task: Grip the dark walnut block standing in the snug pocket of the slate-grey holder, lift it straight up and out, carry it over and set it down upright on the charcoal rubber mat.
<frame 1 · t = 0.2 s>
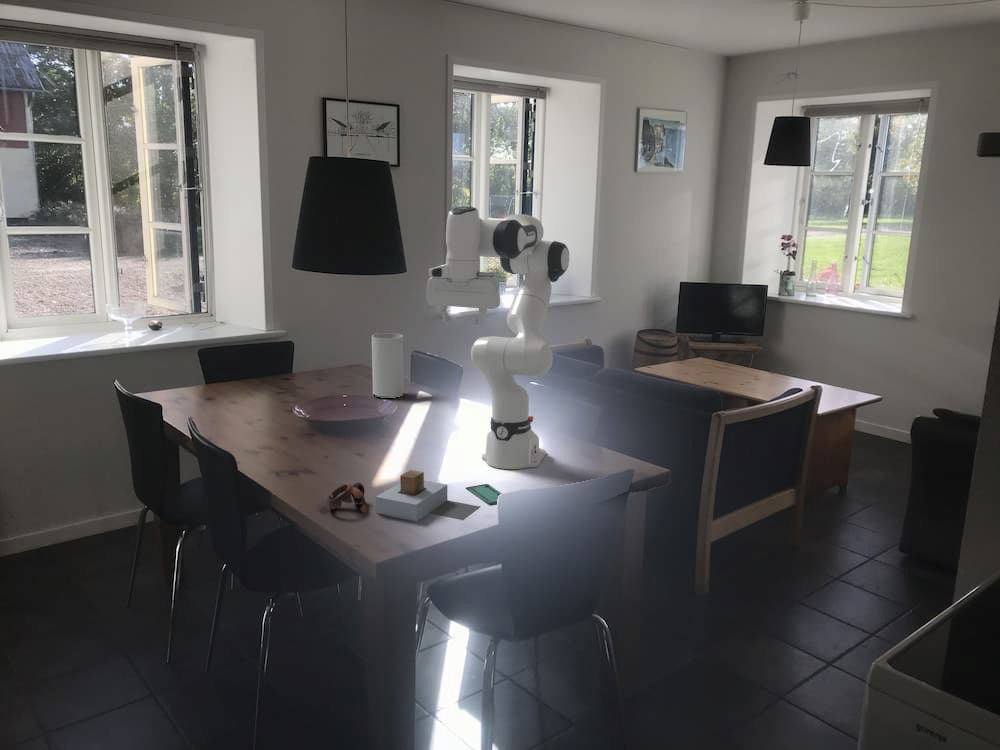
hand: (462, 324, 209), 47 cm above the table, tool pointing down, fingers open, 8 cm apart
walnut block: (412, 506, 208), point 1 cm above the table, touching pocket holder
smartphone: (489, 498, 218), on the table
cylinder vase: (388, 396, 328), on the table
rubber mat: (455, 512, 207), on the table
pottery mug: (350, 511, 207), on the table
pocket holder: (412, 508, 209), on the table
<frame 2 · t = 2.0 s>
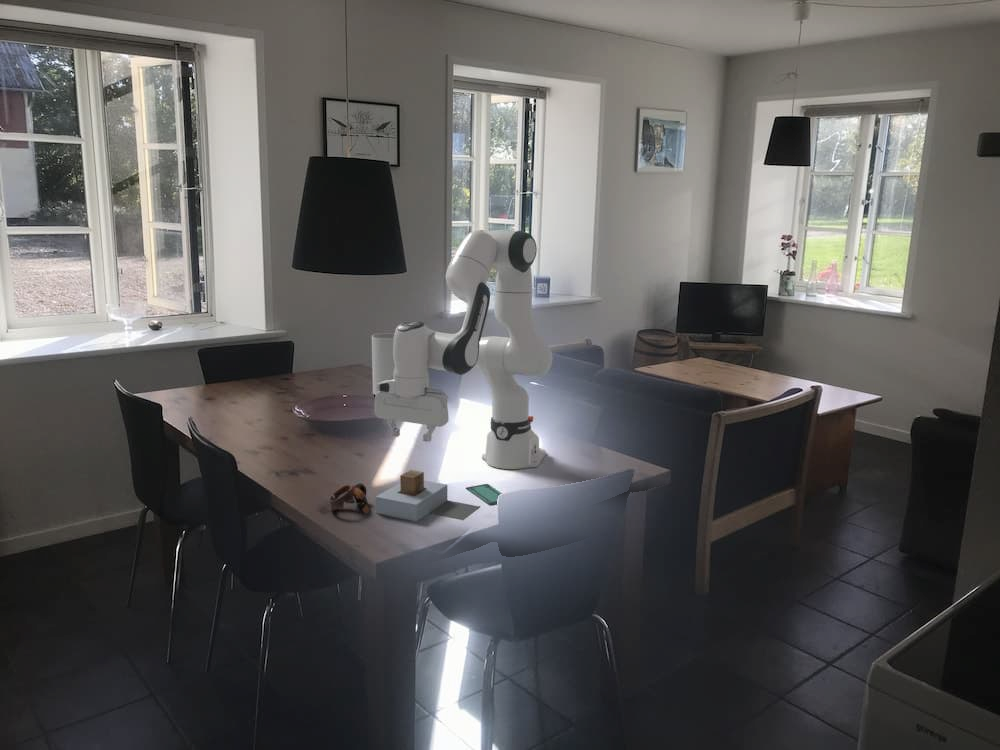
hand: (411, 438, 204), 19 cm above the table, tool pointing down, fingers open, 8 cm apart
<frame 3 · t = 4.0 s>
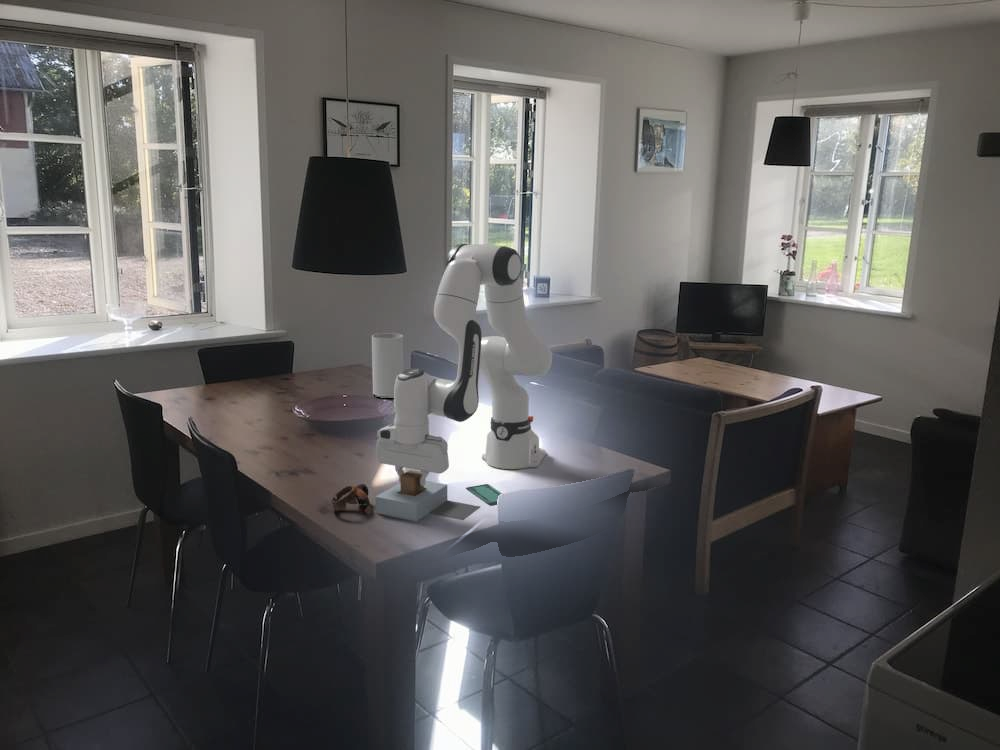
hand: (412, 483, 207), 7 cm above the table, tool pointing down, fingers closed on walnut block, 4 cm apart
walnut block: (412, 506, 208), point 1 cm above the table, touching gripper, pocket holder
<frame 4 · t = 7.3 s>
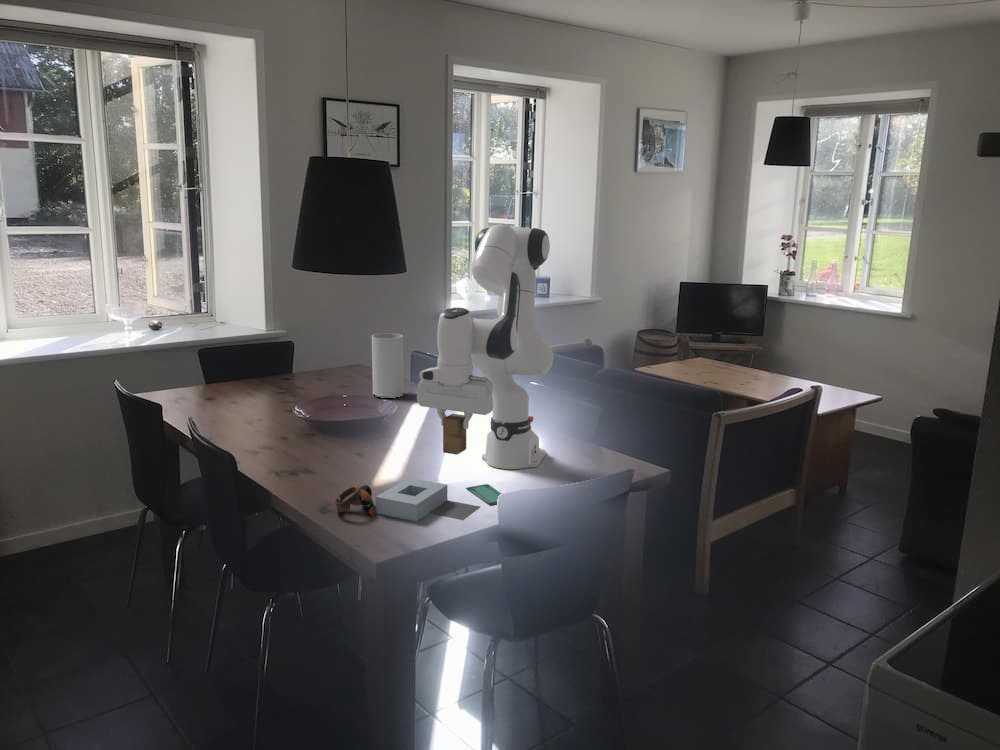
hand: (454, 427, 202), 23 cm above the table, tool pointing down, fingers closed on walnut block, 4 cm apart
walnut block: (454, 450, 203), point 17 cm above the table, touching gripper
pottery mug: (358, 513, 206), on the table
everything else where it was.
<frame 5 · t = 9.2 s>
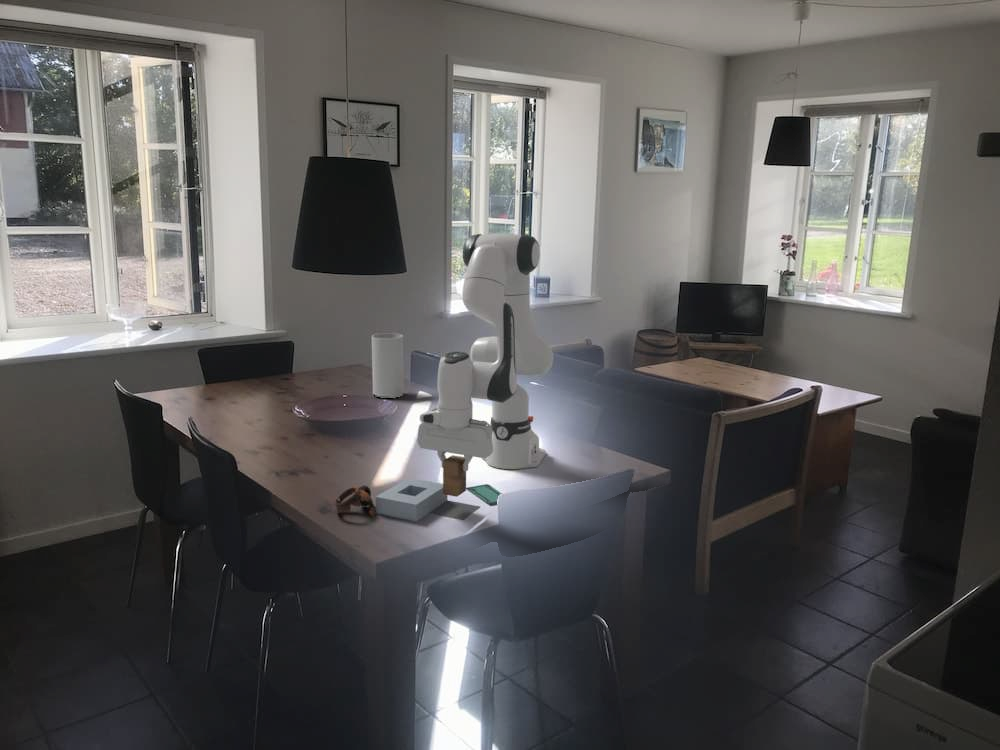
hand: (454, 469, 204), 12 cm above the table, tool pointing down, fingers closed on walnut block, 4 cm apart
walnut block: (454, 492, 205), point 5 cm above the table, touching gripper
when the fingers open (8 cm above the table, at t = 10.7 s): walnut block drops 1 cm, resting on rubber mat.
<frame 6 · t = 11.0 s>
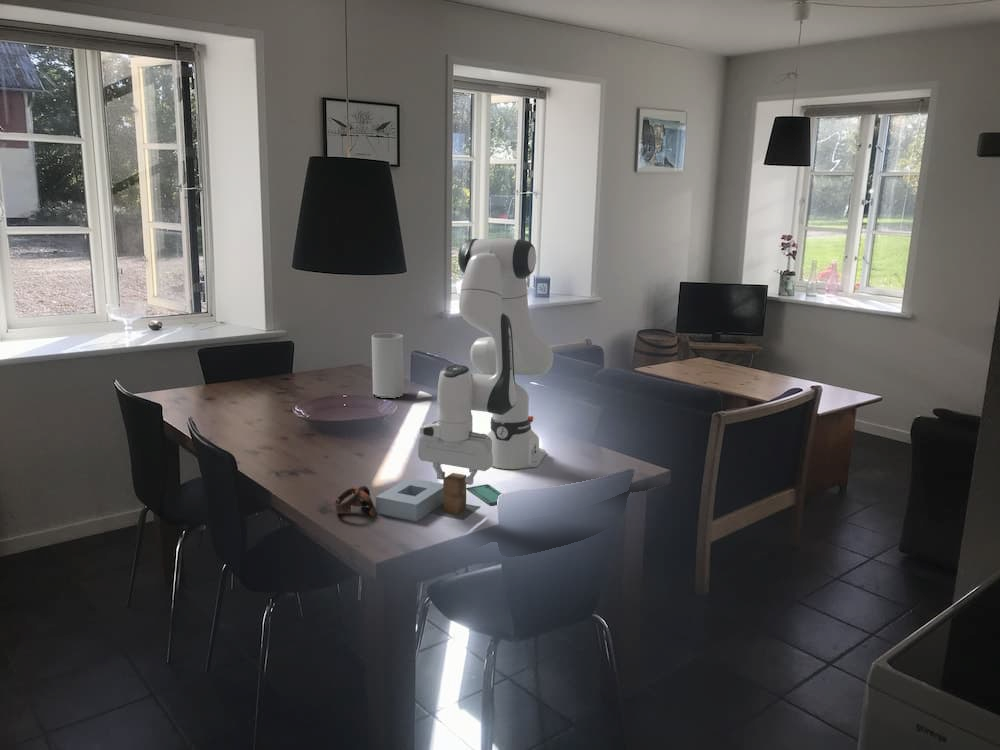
hand: (455, 481, 205), 8 cm above the table, tool pointing down, fingers open, 7 cm apart
walnut block: (454, 509, 207), point 1 cm above the table, touching rubber mat
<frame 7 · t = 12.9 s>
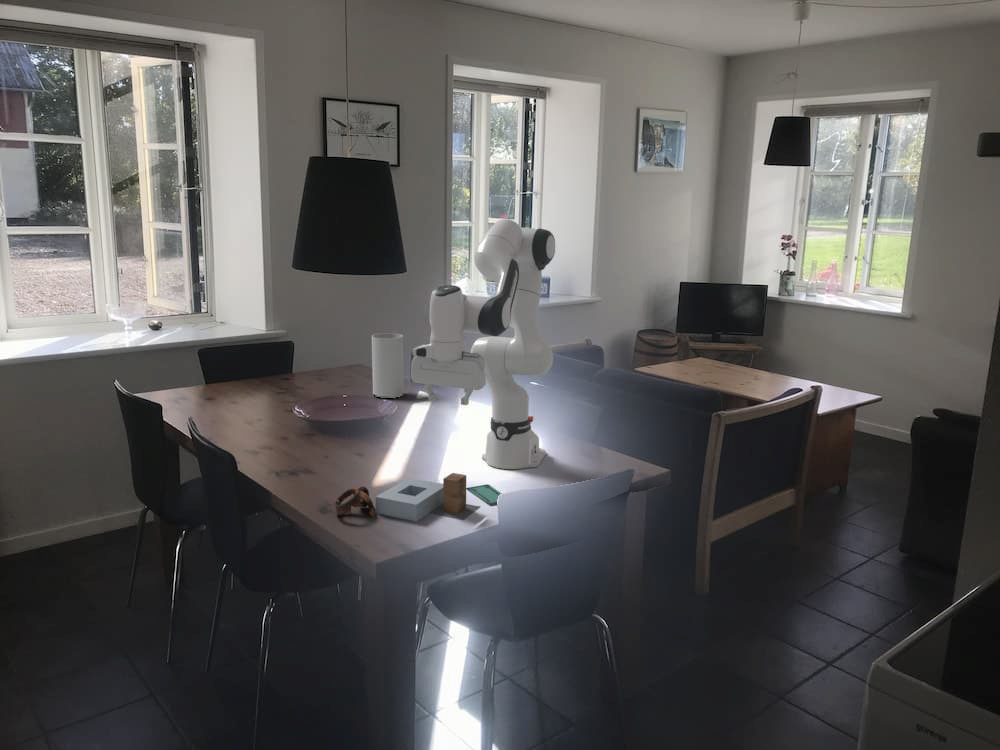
hand: (448, 402, 206), 28 cm above the table, tool pointing down, fingers open, 8 cm apart
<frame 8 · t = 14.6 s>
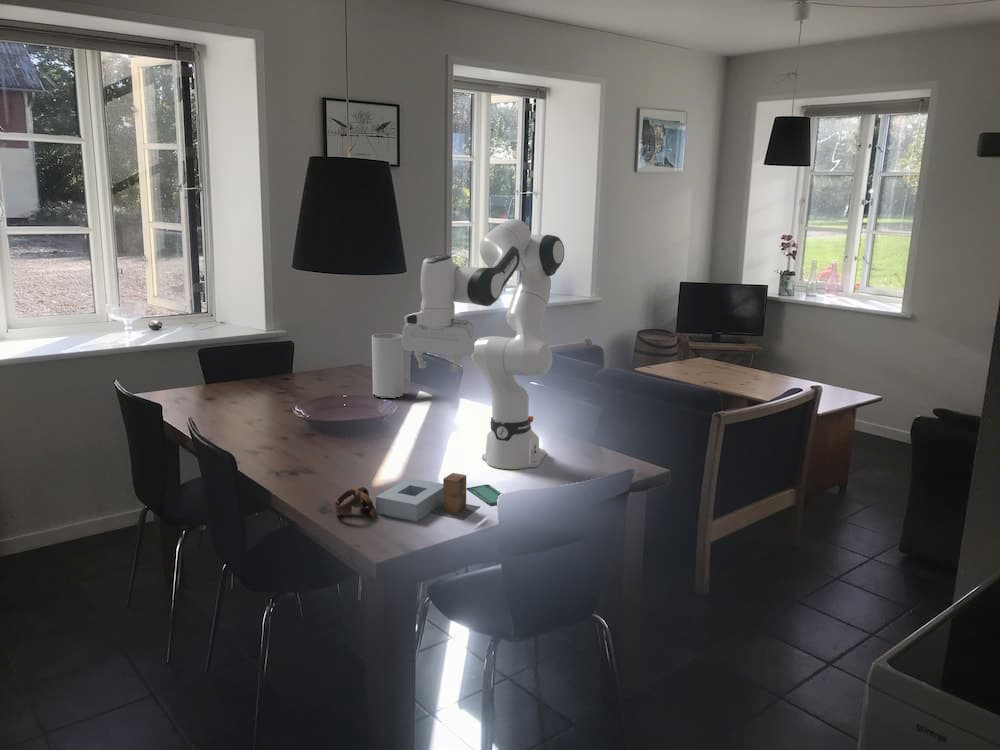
hand: (438, 369, 211), 35 cm above the table, tool pointing down, fingers open, 8 cm apart
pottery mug: (357, 516, 204), on the table, touching pocket holder
everything else where it was.
at the end: walnut block inside the target area on the rubber mat (0.0 cm from its centre), point 0.6 cm above the rubber mat's base; walnut block tilted 0°; walnut block touching rubber mat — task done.
